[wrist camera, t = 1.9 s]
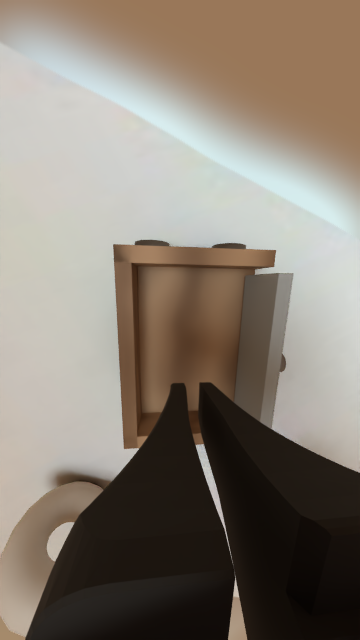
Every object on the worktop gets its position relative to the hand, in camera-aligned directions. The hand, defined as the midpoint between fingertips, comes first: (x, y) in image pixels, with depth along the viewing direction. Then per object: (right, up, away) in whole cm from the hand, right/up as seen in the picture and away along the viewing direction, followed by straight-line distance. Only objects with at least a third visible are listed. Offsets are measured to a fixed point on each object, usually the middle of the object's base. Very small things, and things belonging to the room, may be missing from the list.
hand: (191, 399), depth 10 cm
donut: (-12, -16, +13) cm, 24 cm away
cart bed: (0, +2, +10) cm, 10 cm away
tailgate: (+6, +2, +9) cm, 11 cm away
